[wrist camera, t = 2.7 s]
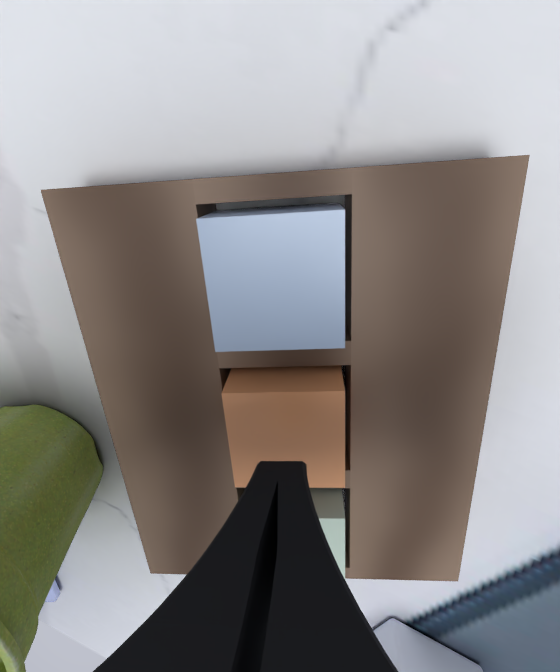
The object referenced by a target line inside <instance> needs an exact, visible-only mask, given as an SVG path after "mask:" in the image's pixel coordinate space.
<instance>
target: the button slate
mask: <svg viewBox="0 0 560 672" xmlns="http://www.w3.org/2000/svg"><path fill="white" fill-rule="evenodd" d="M196 221H197V228H198V235H199V242H200V249H201V256H202V263H203V270H204V277H205V284H206V290H207V297H208V304H209V311H210V318H211V325H212V332H213V339H214V346H215V352H229V351H264V350H298V349H333V348H345V209H344V208H343V207H342V206H341V205H340V204H339V203H328V204H312V205H296V206H281V207H265V208H249V209H233V210H218V211H214V212H211V213H209V214H207V215H204V216H202V217H199V218H197V219H196Z"/></svg>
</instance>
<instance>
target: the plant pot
mask: <svg viewBox="0 0 560 672" xmlns="http://www.w3.org/2000/svg"><path fill="white" fill-rule="evenodd" d="M102 473H103V465H102V464H101V463H100V461H99V458H98V455H97V452H96V448H95V443H94V440H93V439H92V437H91V436H90V435H89V433H88V432H87V431H86V430H85V429H84V428H83V427H82V426H80V425H79V424H78V423H77V422H75V421H74V420H72V419H71V418H69V417H68V416H66V415H64V414H62V413H60V412H58V411H56V410H54V409H51V408H48V407H45V406H41V405H26V406H13V407H9V406H4V407H2V408H0V672H26V670H25V664H24V661H25V659H26V657H27V654H28V652H29V650H30V647H31V645H32V643H33V640H34V638H35V635H36V631H37V626H38V615H39V613H40V611H41V608H42V606H43V604H44V602H45V600H46V597H47V595H48V593H49V591H50V589H51V586H52V584H53V582H54V580H55V578H56V575H57V573H58V571H59V569H60V567H61V564H62V562H63V560H64V558H65V556H66V553H67V551H68V549H69V547H70V545H71V542H72V540H73V538H74V536H75V534H76V532H77V529H78V527H79V525H80V523H81V521H82V519H83V517H84V515H85V513H86V511H87V509H88V507H89V504H90V502H91V500H92V498H93V496H94V494H95V491H96V489H97V487H98V485H99V483H100V480H101V477H102Z"/></svg>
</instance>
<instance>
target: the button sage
mask: <svg viewBox="0 0 560 672" xmlns="http://www.w3.org/2000/svg"><path fill="white" fill-rule="evenodd" d="M310 492H311V496H312V499H313V503H314V506H315V509H316V512H317V515H318V518H319V521H320V524H321V526H322V529H323V532H324V534H325V537H326V539H327V542H328V544H329V546H330V549H331V551H332V553H333V556H334V558H335V560H336V562H337V565H338V567H339V569H340V571H341V573H342V575H343V577H344V579H345V512H344V502H343V492H342V488H310Z"/></svg>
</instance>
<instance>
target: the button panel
mask: <svg viewBox="0 0 560 672" xmlns="http://www.w3.org/2000/svg"><path fill="white" fill-rule="evenodd" d="M528 161H529V155H522V156H508V157H494V158H480V159H466V160H452V161H438V162H424V163H410V164H396V165H382V166H368V167H354V168H340V169H326V170H312V171H298V172H284V173H271V174H257V175H243V176H229V177H215V178H201V179H187V180H173V181H159V182H145V183H131V184H117V185H103V186H89V187H75V188H61V189H47V190H41V193H42V196H43V200H44V203H45V207H46V210H47V214H48V217H49V221H50V224H51V228H52V231H53V235H54V238H55V242H56V245H57V249H58V252H59V256H60V259H61V263H62V266H63V270H64V273H65V277H66V280H67V284H68V287H69V291H70V294H71V297H72V301H73V304H74V308H75V311H76V315H77V318H78V322H79V325H80V329H81V332H82V336H83V339H84V343H85V346H86V350H87V353H88V357H89V360H90V364H91V367H92V371H93V374H94V378H95V381H96V385H97V388H98V392H99V395H100V398H101V402H102V405H103V409H104V412H105V416H106V419H107V423H108V426H109V430H110V433H111V437H112V440H113V444H114V447H115V451H116V454H117V458H118V461H119V465H120V468H121V472H122V475H123V479H124V482H125V486H126V489H127V493H128V496H129V500H130V503H131V506H132V510H133V513H134V517H135V520H136V524H137V527H138V531H139V534H140V538H141V541H142V545H143V548H144V552H145V555H146V559H147V562H148V566H149V569H150V573H157V574H188V573H189V571H190V570H191V569H192V568H193V566H194V565H195V564H196V563H197V561H198V560H199V559H200V557H201V556H202V555H203V553H204V552H205V551H206V549H207V548H208V546H209V545H210V544H211V542H212V541H213V539H214V538H215V536H216V535H217V533H218V532H219V531H220V529H221V528H222V526H223V525H224V523H225V522H226V520H227V519H228V517H229V515H230V514H231V512H232V510H233V509H234V507H235V505H236V504H237V502H238V500H239V499H240V497H241V495H242V493H243V492H244V490H245V488H246V487H235V484H234V477H233V470H232V463H231V456H230V450H229V443H228V436H227V429H226V422H225V415H224V408H223V401H222V394H221V393H222V391H223V388H224V386H225V383H226V381H227V378H228V376H229V373H230V371H231V368H250V367H291V366H331V365H345V578H351V579H390V580H429V581H458V578H459V572H460V566H461V560H462V554H463V548H464V542H465V536H466V530H467V525H468V519H469V513H470V507H471V501H472V495H473V489H474V483H475V477H476V471H477V465H478V459H479V453H480V447H481V441H482V435H483V429H484V423H485V417H486V411H487V405H488V399H489V394H490V388H491V382H492V376H493V370H494V364H495V358H496V352H497V346H498V340H499V334H500V328H501V322H502V316H503V310H504V304H505V298H506V292H507V286H508V280H509V274H510V268H511V263H512V257H513V251H514V245H515V239H516V233H517V227H518V221H519V215H520V209H521V203H522V197H523V191H524V185H525V179H526V173H527V167H528ZM332 195H345V348H333V349H298V350H264V351H229V352H215V346H214V339H213V332H212V325H211V318H210V311H209V304H208V297H207V290H206V284H205V277H204V270H203V263H202V256H201V249H200V242H199V235H198V228H197V221H196V219H197V218H199V217H202V216H204V215H207V214H209V213H211V212H214V211H216V204H215V203H225V202H241V201H256V200H271V199H287V198H302V197H317V196H332Z"/></svg>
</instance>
